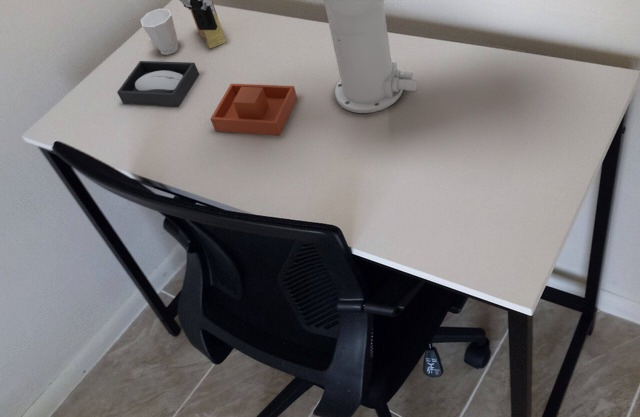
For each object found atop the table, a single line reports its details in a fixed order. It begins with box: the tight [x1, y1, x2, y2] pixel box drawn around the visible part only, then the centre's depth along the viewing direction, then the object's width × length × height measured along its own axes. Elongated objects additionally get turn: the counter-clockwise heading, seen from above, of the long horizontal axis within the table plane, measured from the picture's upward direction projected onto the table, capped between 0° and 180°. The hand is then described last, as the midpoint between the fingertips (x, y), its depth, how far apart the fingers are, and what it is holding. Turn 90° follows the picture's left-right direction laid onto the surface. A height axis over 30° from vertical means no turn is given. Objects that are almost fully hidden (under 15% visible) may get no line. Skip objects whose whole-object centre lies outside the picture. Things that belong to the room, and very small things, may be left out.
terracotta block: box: [233, 87, 269, 120], centre depth 120 cm, size 4×4×4 cm
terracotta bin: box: [210, 83, 298, 136], centre depth 121 cm, size 13×10×3 cm
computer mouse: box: [135, 71, 183, 93], centre depth 132 cm, size 6×10×3 cm, turn 85°
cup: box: [140, 8, 180, 56], centre depth 140 cm, size 7×10×8 cm
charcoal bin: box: [116, 60, 200, 108], centre depth 132 cm, size 13×10×3 cm
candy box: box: [189, 0, 227, 50], centre depth 137 cm, size 9×4×15 cm, turn 25°
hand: (220, 11), depth 105 cm, fingers open, 9 cm apart
